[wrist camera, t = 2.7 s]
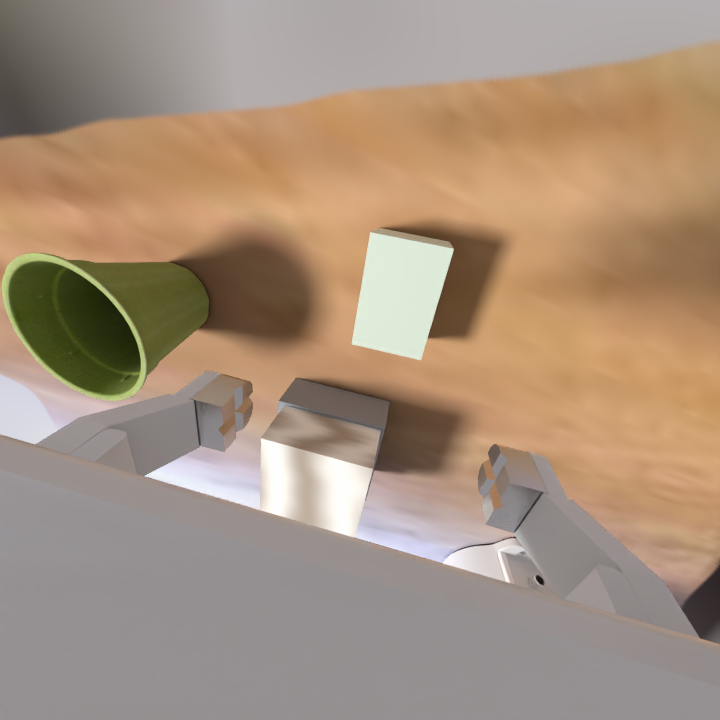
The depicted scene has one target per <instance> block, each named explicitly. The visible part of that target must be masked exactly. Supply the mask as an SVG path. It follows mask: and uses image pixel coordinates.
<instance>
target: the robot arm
mask: <svg viewBox="0 0 720 720" xmlns="http://www.w3.org/2000/svg"><path fill="white" fill-rule="evenodd" d="M252 392H253V388H252V383H251V382H250V381H247V380H243V379H240V378H236V377H232V376H229V375H225V374H221V373H217V372H214V371H205V372H204V373H203V374H201V375H200V376H199V377H197V378H196V379H195V380H193V381H192V382H191V383H189V384H188V385H187V386H185V387H184V388H183V389H181V390H180V391H179V392H177V393H176V394H175V395H172V394H167V395H163V396H160V397H156V398H152V399H148V400H144V401H140V402H137V403H133V404H129V405H125V406H121V407H118V408H114V409H110V410H106V411H102V412H99V413H95V414H91V415H87V416H83V417H79V418H78V419H76V420H74V421H73V422H71V423H70V424H68V425H66V426H65V427H63V428H61V429H60V430H58V431H57V432H55V433H53V434H52V435H50V436H48V437H47V438H45V439H44V440H42V441H40V442H39V443H37V444H31V443H28V442H24V441H21V440H18V439H14V438H11V437H7V436H4V435H0V720H720V644H717V643H714V642H710V641H707V640H703V639H700V638H699V636H698V634H697V633H696V632H695V630H694V628H693V627H692V625H691V623H690V622H689V620H688V619H687V617H686V616H685V614H684V613H683V611H682V609H681V608H680V606H679V605H678V603H677V601H676V600H675V598H674V597H673V595H672V594H671V592H670V591H669V589H668V587H667V586H666V584H665V583H664V581H663V580H662V579H660V578H659V577H658V576H657V575H656V574H655V573H654V572H653V571H652V570H650V569H649V568H648V567H647V566H646V565H645V564H644V563H643V562H641V561H640V560H639V559H638V558H637V557H636V556H635V555H634V554H632V553H631V552H630V551H629V550H628V549H627V548H626V547H625V546H624V545H622V544H621V543H620V542H619V541H618V540H617V539H616V538H615V537H613V536H612V535H611V534H610V533H609V532H608V531H607V530H606V529H604V528H603V527H602V526H601V525H600V524H599V523H598V522H597V521H596V520H594V519H593V518H592V517H591V516H590V515H589V514H588V513H587V512H585V511H584V510H583V509H582V508H581V507H580V506H579V505H578V504H577V503H575V502H574V501H573V500H569V499H567V497H566V495H565V493H564V490H563V488H562V486H561V484H560V482H559V480H558V478H557V476H556V474H555V472H554V470H553V468H552V466H551V464H550V462H549V460H548V459H547V458H546V457H545V456H544V455H540V454H536V453H532V452H525V451H521V450H517V449H513V448H509V447H505V446H501V445H497V444H494V445H493V446H492V447H491V448H490V450H489V452H488V454H489V458H490V459H489V460H487V461H485V462H483V464H482V466H481V468H480V470H479V475H478V488H479V493H480V494H481V495H482V496H483V498H484V501H483V503H482V509H483V514H484V519H485V524H486V525H489V526H493V527H496V528H499V529H502V530H506V531H509V532H512V533H515V534H514V535H515V537H516V538H517V539H516V538H511V539H506V540H503V541H500V542H498V543H495V544H492V545H484V546H474V547H469V548H465V549H461V550H459V551H456V552H454V553H452V554H451V555H449V556H448V557H447V558H446V559H445V560H444V561H443V563H440V562H436V561H433V560H429V559H426V558H422V557H419V556H416V555H412V554H409V553H405V552H402V551H398V550H395V549H392V548H388V547H385V546H381V545H378V544H374V543H371V542H368V541H364V540H361V539H357V538H354V537H350V536H347V535H344V534H340V533H337V532H333V531H330V530H326V529H323V528H320V527H316V526H313V525H309V524H306V523H302V522H299V521H296V520H292V519H289V518H285V517H282V516H279V515H275V514H272V513H268V512H265V511H261V510H258V509H255V508H251V507H248V506H244V505H241V504H237V503H234V502H230V501H227V500H224V499H220V498H217V497H213V496H210V495H206V494H203V493H200V492H196V491H193V490H189V489H186V488H182V487H179V486H176V485H172V484H169V483H165V482H162V481H158V480H155V479H152V478H148V477H145V475H147V474H149V473H150V472H152V471H154V470H156V469H158V468H160V467H162V466H164V465H166V464H168V463H170V462H172V461H174V460H176V459H177V458H179V457H181V456H183V455H185V454H187V453H189V452H191V451H193V450H195V449H197V448H199V446H203V447H207V448H211V449H215V450H219V451H223V452H225V451H226V450H227V448H228V447H229V446H230V445H231V443H232V442H233V441H234V440H235V439H236V432H237V431H239V430H242V429H244V427H245V426H246V425H247V423H248V421H249V419H250V417H251V414H252V409H253V402H252V401H251V399H250V398H249V396H250V395H251V393H252Z"/></svg>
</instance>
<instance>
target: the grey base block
mask: <svg viewBox="0 0 720 720" xmlns="http://www.w3.org/2000/svg"><path fill="white" fill-rule="evenodd" d="M284 405H286V406H289V407H293V408H297V409H301V410H305V411H309V412H312V413H316V414H320V415H324V416H328V417H332V418H335V419H339V420H343V421H347V422H351V423H354V424H358V425H362V426H366V427H370V428H374V429H377V430H381V432H380V437H379V442H378V447H377V452H376V457H375V462H374V467H373V472H374V468H375V464H376V461H377V457H378V453H379V450H380V446H381V442H382V439H383V435H384V431H385V427H386V422H387V416H388V410H389V405H390V401H386V400H382V399H378V398H374V397H370V396H366V395H362V394H358V393H354V392H350V391H346V390H342V389H338V388H334V387H330V386H326V385H322V384H318V383H314V382H310V381H306V380H303V379H299V378H295V380H294V381H293V382H292V384H291V385H290V386H289V388H288V389H287V390H286V392H285V393H284V394H283V396H282V397H281V399H280V400H279V406H278V414H279V412H280V411H281V410H282V408H283V407H284ZM373 472H372V475H371V479H372V476H373ZM371 479H370V483H371ZM370 483H369V486H368V490H369V487H370ZM368 490H367V494H368ZM367 494H366V498H367ZM366 498H365V501H366Z"/></svg>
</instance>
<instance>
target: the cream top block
mask: <svg viewBox="0 0 720 720" xmlns="http://www.w3.org/2000/svg"><path fill="white" fill-rule="evenodd" d="M380 432H381V430H377V429H374V428H370V427H366V426H362V425H358V424H354V423H351V422H347V421H343V420H339V419H335V418H332V417H328V416H324V415H320V414H316V413H312V412H309V411H305V410H301V409H297V408H293V407H289V406H286V405H284V407H283V408H282V410H281V411H280V412H279V414H278V415H277V417H276V418H275V419H274V421H273V422H272V424H271V425H270V426H269V428H268V429H267V431H266V432H265V434H264V435H263V436H262V438H261V482H260V510H261V511H265V512H268V513H272V514H275V515H279V516H282V517H285V518H289V519H292V520H296V521H299V522H302V523H306V524H309V525H313V526H316V527H320V528H323V529H326V530H330V531H333V532H337V533H340V534H344V535H347V536H350V537H354V538H355V535H356V531H357V527H358V524H359V520H360V516H361V513H362V509H363V505H364V501H365V498H366V494H367V490H368V486H369V483H370V479H371V475H372V472H373V467H374V462H375V457H376V452H377V447H378V442H379V437H380Z"/></svg>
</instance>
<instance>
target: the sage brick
mask: <svg viewBox="0 0 720 720" xmlns="http://www.w3.org/2000/svg"><path fill="white" fill-rule="evenodd" d="M453 251H454V248H453V246H452V245H451V244H450V242H449V241H444V240H439V239H434V238H429V237H424V236H419V235H414V234H409V233H404V232H399V231H393V230H388V229H383V228H378V229H376V230H374V231H372V232H370V238H369V244H368V250H367V256H366V262H365V268H364V274H363V280H362V286H361V292H360V298H359V303H358V309H357V315H356V321H355V327H354V333H353V339H352V344H353V345H358V346H362V347H366V348H370V349H375V350H379V351H383V352H388V353H392V354H396V355H400V356H405V357H409V358H413V359H418V360H421V358H422V355H423V351H424V348H425V345H426V341H427V338H428V335H429V331H430V328H431V325H432V321H433V318H434V314H435V311H436V308H437V304H438V301H439V298H440V294H441V291H442V288H443V284H444V281H445V278H446V274H447V271H448V268H449V264H450V261H451V258H452V254H453Z"/></svg>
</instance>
